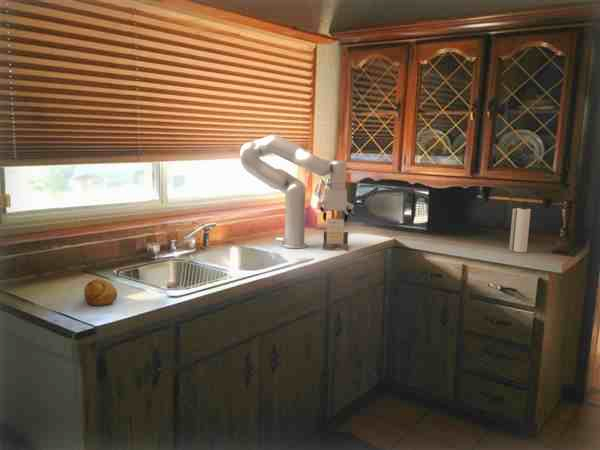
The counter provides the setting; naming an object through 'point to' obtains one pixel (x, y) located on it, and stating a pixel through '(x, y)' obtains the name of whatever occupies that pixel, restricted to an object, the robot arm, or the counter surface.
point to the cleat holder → (335, 246)
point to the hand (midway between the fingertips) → (335, 221)
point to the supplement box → (335, 231)
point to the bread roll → (100, 292)
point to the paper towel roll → (519, 230)
